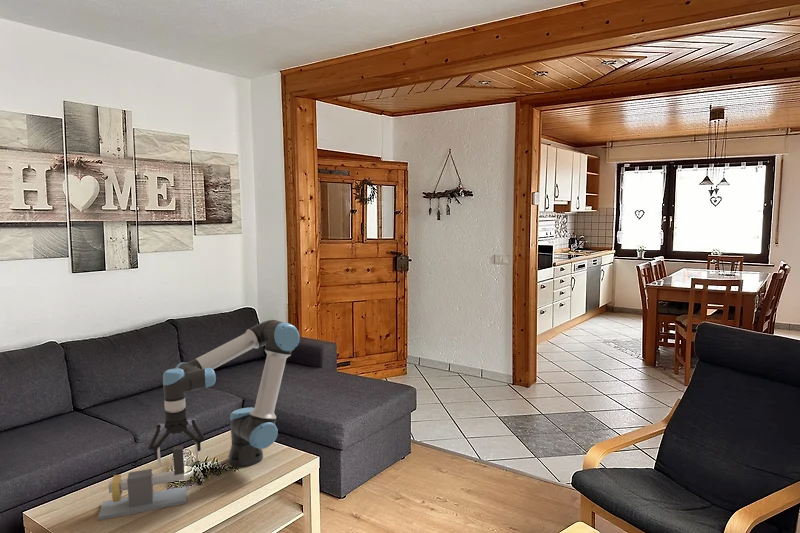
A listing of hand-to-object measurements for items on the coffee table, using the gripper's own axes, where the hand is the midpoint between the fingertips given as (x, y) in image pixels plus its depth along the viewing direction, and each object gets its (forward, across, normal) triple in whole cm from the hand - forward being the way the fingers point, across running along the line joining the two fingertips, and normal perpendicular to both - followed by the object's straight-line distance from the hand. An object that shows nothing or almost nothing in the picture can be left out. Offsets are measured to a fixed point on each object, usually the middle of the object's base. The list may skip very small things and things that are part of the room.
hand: (178, 462), depth 213 cm
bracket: (+14, +13, 0) cm, 19 cm away
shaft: (+7, +11, 0) cm, 13 cm away
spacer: (+10, +22, 0) cm, 24 cm away
